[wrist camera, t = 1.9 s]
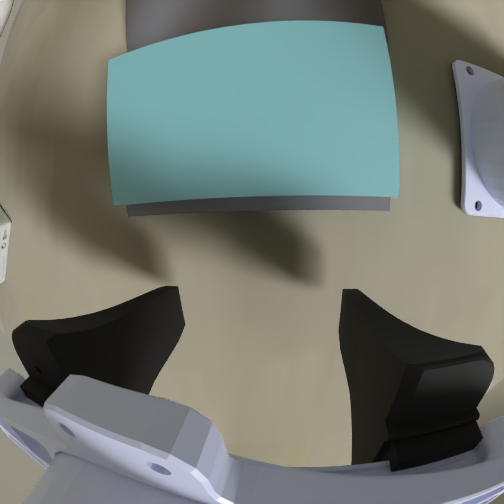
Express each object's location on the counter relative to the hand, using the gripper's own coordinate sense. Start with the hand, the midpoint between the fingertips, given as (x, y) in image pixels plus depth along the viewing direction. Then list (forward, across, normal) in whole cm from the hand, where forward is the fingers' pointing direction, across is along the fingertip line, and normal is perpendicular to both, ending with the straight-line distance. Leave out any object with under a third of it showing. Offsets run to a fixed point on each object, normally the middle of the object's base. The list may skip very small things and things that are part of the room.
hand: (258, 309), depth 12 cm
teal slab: (+2, 0, -8) cm, 8 cm away
